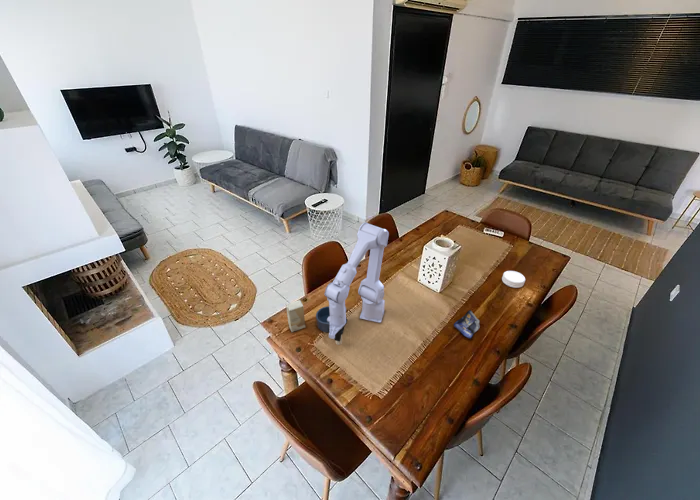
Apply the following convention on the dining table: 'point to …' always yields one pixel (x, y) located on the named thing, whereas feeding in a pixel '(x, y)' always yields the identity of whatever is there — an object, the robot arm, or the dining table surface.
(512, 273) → the white round disc
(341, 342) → the dowel
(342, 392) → the dining table surface
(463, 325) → the snack package
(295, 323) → the cosmetic box
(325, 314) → the holder
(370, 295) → the robot arm
